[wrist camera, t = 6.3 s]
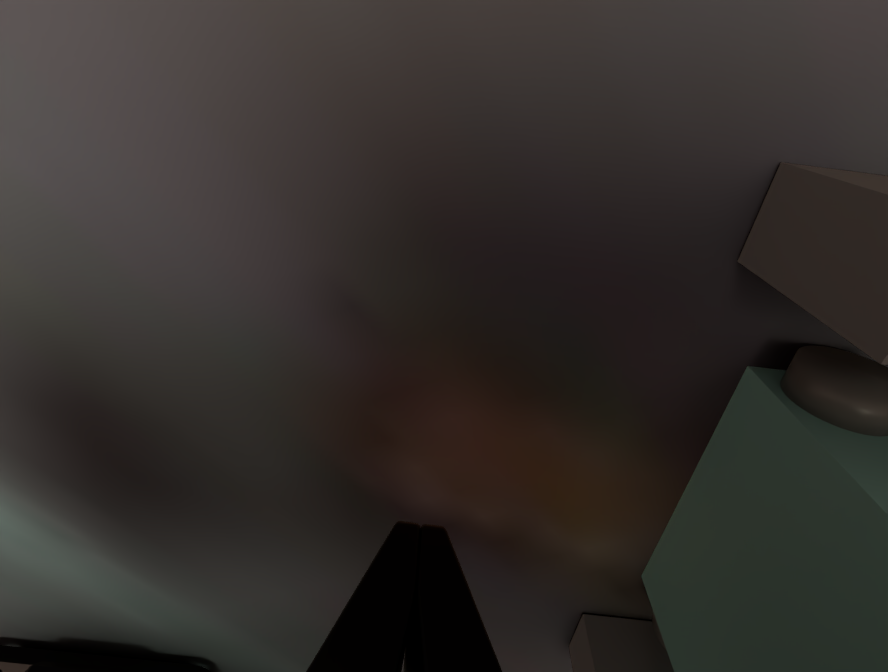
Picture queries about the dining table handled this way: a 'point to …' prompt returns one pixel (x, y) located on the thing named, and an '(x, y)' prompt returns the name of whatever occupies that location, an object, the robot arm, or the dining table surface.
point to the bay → (815, 290)
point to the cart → (783, 527)
